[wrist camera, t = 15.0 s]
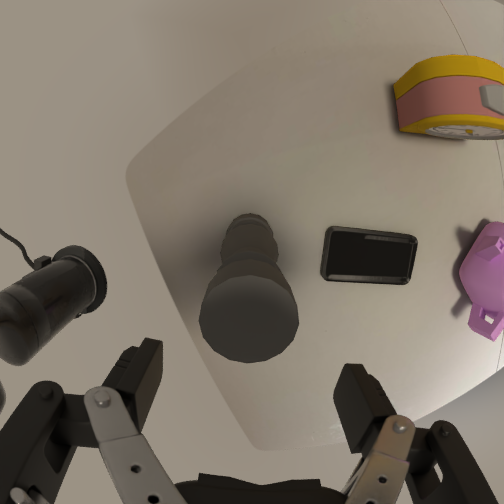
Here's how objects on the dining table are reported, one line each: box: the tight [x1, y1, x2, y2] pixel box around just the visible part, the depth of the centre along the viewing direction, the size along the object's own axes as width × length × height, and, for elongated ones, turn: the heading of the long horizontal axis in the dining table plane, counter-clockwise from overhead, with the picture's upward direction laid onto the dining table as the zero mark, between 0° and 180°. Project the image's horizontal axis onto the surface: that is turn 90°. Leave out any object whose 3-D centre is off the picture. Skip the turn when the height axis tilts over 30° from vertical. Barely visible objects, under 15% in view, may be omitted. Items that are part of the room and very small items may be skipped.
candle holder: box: [199, 213, 299, 363], centre depth 28 cm, size 6×6×25 cm
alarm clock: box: [393, 55, 504, 140], centre depth 27 cm, size 15×8×18 cm, turn 94°
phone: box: [320, 226, 418, 285], centre depth 40 cm, size 8×1×15 cm
